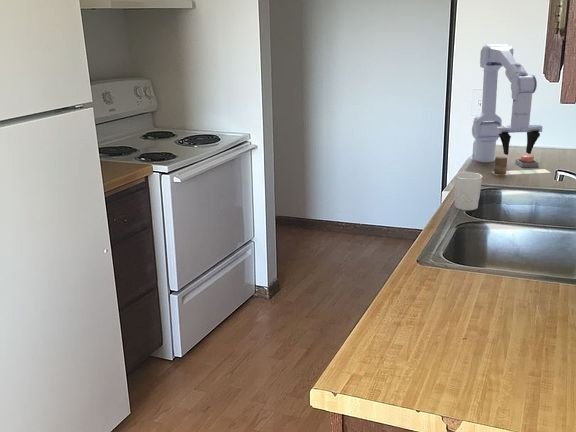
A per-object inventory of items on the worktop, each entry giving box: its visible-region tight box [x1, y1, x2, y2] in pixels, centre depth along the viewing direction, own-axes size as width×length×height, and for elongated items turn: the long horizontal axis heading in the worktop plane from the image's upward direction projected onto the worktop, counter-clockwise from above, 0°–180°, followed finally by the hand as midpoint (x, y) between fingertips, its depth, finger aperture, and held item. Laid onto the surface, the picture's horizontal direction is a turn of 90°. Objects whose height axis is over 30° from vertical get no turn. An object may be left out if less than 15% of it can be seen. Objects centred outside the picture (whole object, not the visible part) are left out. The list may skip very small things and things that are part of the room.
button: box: [520, 154, 535, 163], centre depth 226 cm, size 4×4×2 cm
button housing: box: [515, 158, 539, 168], centre depth 227 cm, size 6×6×2 cm
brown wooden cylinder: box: [493, 156, 508, 176], centre depth 217 cm, size 4×4×6 cm
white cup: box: [454, 171, 483, 211], centre depth 186 cm, size 8×8×10 cm
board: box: [491, 168, 552, 176], centre depth 219 cm, size 10×20×1 cm, turn 93°
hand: (517, 153), depth 207 cm, fingers open, 7 cm apart
